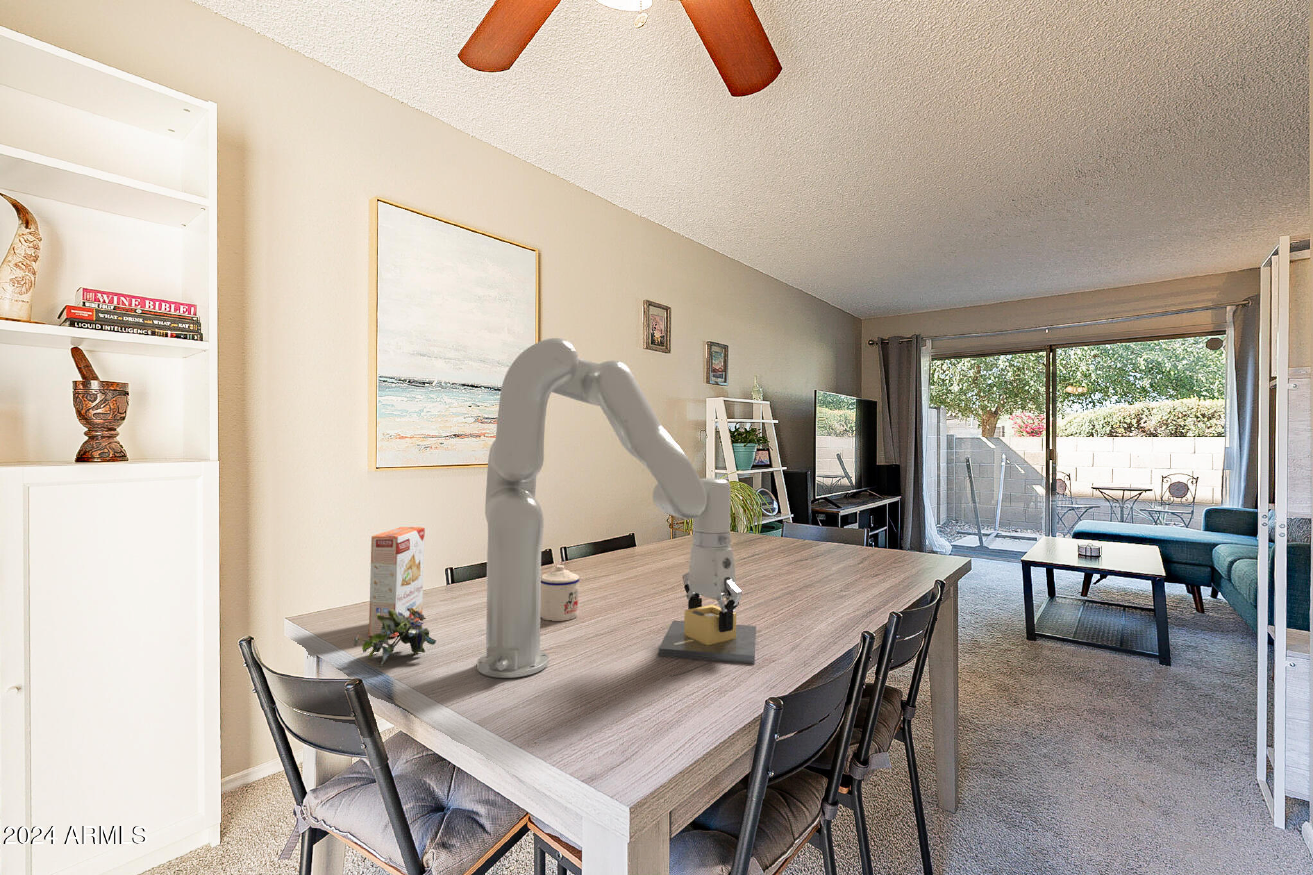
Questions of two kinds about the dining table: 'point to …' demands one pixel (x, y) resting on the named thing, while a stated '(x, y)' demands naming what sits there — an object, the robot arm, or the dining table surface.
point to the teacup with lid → (559, 595)
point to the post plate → (723, 651)
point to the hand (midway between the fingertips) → (709, 624)
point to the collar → (706, 625)
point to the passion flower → (406, 629)
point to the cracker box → (396, 574)
